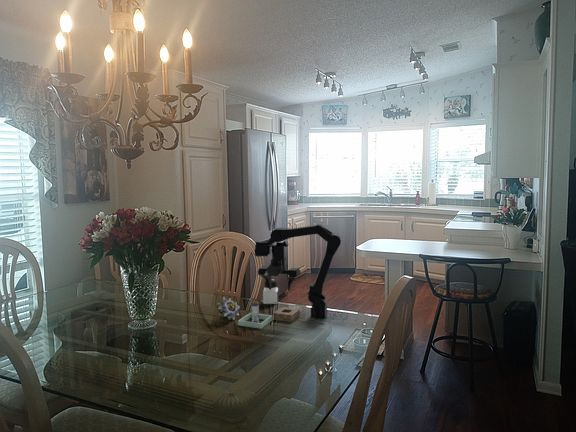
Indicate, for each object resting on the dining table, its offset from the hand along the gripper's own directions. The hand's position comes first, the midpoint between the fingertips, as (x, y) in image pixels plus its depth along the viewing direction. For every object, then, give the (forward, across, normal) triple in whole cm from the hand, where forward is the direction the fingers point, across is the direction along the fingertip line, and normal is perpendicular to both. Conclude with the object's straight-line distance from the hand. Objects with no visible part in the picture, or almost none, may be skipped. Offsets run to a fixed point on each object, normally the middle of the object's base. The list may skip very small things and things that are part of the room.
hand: (279, 290), depth 201 cm
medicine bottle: (+13, -13, +18) cm, 25 cm away
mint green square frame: (+12, -7, -12) cm, 19 cm away
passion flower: (+12, -22, -9) cm, 27 cm away
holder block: (+13, +4, -2) cm, 13 cm away
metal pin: (+12, -7, -12) cm, 18 cm away
